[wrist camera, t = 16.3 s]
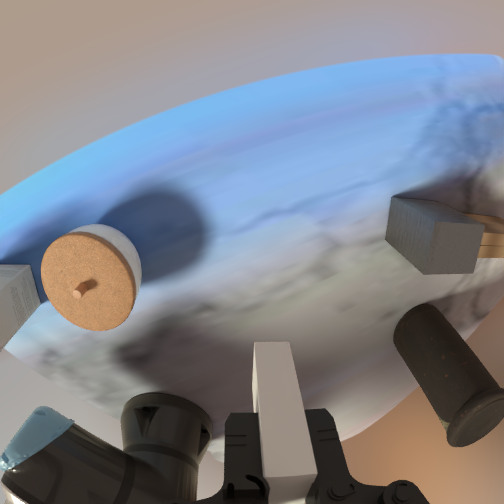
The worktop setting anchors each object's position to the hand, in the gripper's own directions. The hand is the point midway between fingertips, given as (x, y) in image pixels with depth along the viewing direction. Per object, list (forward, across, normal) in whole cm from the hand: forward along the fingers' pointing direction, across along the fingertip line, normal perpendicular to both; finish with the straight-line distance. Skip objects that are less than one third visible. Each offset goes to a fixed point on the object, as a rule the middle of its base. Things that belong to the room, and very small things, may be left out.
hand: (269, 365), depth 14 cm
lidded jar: (+23, -16, -4) cm, 28 cm away
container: (+23, +24, -15) cm, 37 cm away
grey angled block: (+22, +19, +1) cm, 29 cm away
